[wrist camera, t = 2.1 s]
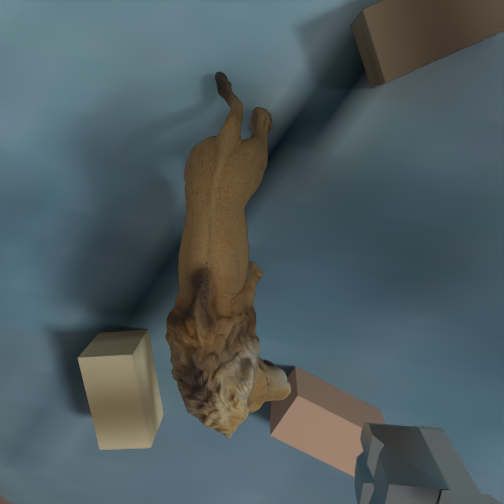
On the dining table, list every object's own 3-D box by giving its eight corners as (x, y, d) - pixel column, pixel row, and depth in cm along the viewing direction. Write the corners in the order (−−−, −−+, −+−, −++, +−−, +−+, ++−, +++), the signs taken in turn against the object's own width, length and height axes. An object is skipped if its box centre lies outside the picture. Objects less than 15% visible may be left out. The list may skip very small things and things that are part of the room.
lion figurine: (288, 339, 24) (295, 454, 16) (198, 343, 25) (157, 458, 16) (271, 68, 20) (268, 24, 12) (164, 78, 21) (84, 43, 12)
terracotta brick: (379, 408, 26) (392, 443, 23) (352, 442, 26) (362, 480, 24) (295, 364, 25) (297, 395, 22) (270, 401, 26) (270, 435, 23)
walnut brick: (477, -34, 19) (513, -62, 16) (493, 34, 19) (531, 18, 17) (349, 26, 20) (362, 9, 17) (370, 88, 20) (385, 82, 18)
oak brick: (100, 331, 25) (77, 357, 22) (148, 328, 25) (132, 354, 22) (118, 415, 27) (99, 449, 24) (164, 413, 26) (150, 447, 24)
